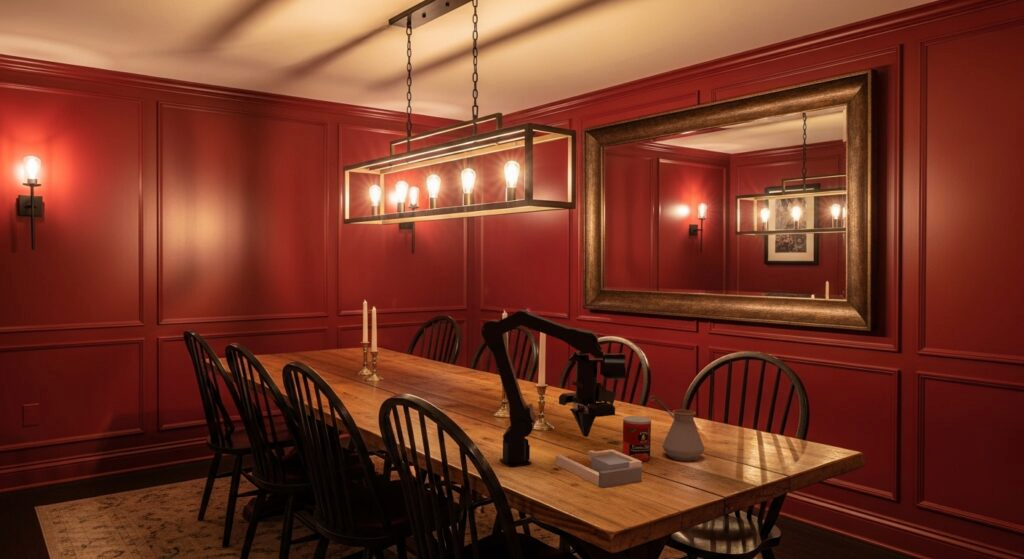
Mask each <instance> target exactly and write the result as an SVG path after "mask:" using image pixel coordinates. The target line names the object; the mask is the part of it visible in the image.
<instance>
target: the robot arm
mask: <svg viewBox="0 0 1024 559" xmlns="http://www.w3.org/2000/svg"><path fill="white" fill-rule="evenodd" d="M521 326H523V327H525V328H529V329H530V330H531V329H532V330H534V331H536V332H539V333H542V334H544V335H547V336H551V337H552V338H556V339H558V340H560V341H562V342H565V343H566V344H567V345H569V346H570V347H572V348H574V349H575V350H577V351H578V352H577V351H574V352H573V354H572V355H571V356H569V358H568V361H570V362H575V380H573V381H572V386H575V392H574V391H573V392H564V393H561V394H560V395H559V396H558V404H559V405H561V406H566V405H567V404H572V408H570V409H569V411H571V413H572V415H573V417H574V419H575V421H576V423H577V426H578V428H579V431H580V432H581V434H582V437H585V438H587V437H589V434H590V431H591V430H592V427H593V424H594V421H595V419H596V418H601V417H610V416H611V417H612V416H615V415H616V406H614V403H615V400H616V397H617V393H616V392H614V391H611V390H609V389H606V388H605V386H604V385H602V383H601V382H600V381H598V378H599V377H598V373H599V372H600V373H599V374H600V375H601V376H602V377H604V378H603V379H604V380H607V379H609V380H626V378H627V376H626V375H627V373H626V372H627V367H626V366H627V365H626V353H624V352H623V353H621V352H619V353H606V352H605V351H604V348H603V349H602V346H601V345H600V344H599V337H598V335H597V333H596V332H594V331H593V330H592V329H586V328H580V327H572V326H568V325H564V324H562V323H559V322H556V321H553V320H550V319H549V318H545V317H542V316H540V315H537V314H534V313H532V312H529V311H528V310H526V309H520V310H518V311H515V313H513V314H511V315H508V316H507V317H504V318H502V319H497V318H493V319H490V320H489V321H486V322H485V323H484V324H483V326H482V327H481V328H480V329H481V330H480V332H481V337H482V338H483V340H484V343H485V345H486V346H487V347H488V349H489V351H490V352H491V354H492V355H493V358H494V361H495V365H496V367H497V370H498V374H499V378H500V380H501V383H502V387H503V390H504V393H505V396H506V399H507V403H508V407H509V410H508V411H509V423H510V425H509V426H508V427H507V428H506V430H505V431H504V433H503V435H502V458H500V459H499V461H500V462H501V463H503V464H505V465H507V466H508V467H517V466H524V465H525V466H526V465H531V464H532V461H530V460H531V459H530V458H531V456H530V455H531V454H530V453H531V452H530V451H531V450H530V449H531V445H530V444H529V439H527V438H526V437H528V436H529V435H531V433H532V432H533V430H534V428H535V424H536V419H537V415H536V414H535V412H534V406H533V403H529V404H527V402H526V401H525V399H524V397H523V395H522V391H521V387H520V385H519V382H518V378H517V375H516V371H515V368H514V365H513V362H512V359H511V356H510V353H509V345H508V334H507V333H509V332H510V331H512V330H515V329H516V328H518V327H521ZM579 352H580V353H582V354H579ZM590 356H592V357H590ZM598 363H599V364H600V366H599V364H598ZM598 368H600V369H598ZM598 370H599V371H598Z"/></svg>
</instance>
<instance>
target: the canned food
mask: <svg viewBox="0 0 1024 559" xmlns="http://www.w3.org/2000/svg"><path fill="white" fill-rule="evenodd" d="M622 421H623V422H622V454H625V455H627V456H630V457H632V458H635V459H637V460H640V461H642V462H646V461H649V460H650V457H651V444H652V443H651V442H652V440H651V439H652V438H651V436H652V419H651V418H649V417H647V416H642V415H640V416H639V415H626V416H624V417H623V420H622Z"/></svg>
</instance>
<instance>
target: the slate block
mask: <svg viewBox="0 0 1024 559" xmlns="http://www.w3.org/2000/svg"><path fill="white" fill-rule="evenodd" d="M629 463H630V462H629V461H626V460H624V459H621V458H619V457H617V456H614V455H612V454H606V455H599V456H592V457H591V461H590V469H592V470H594V471H596V472H598V473H599V472H601V471H607V470H613V469H620V468H626V467H629Z"/></svg>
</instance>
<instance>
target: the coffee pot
mask: <svg viewBox="0 0 1024 559" xmlns="http://www.w3.org/2000/svg"><path fill="white" fill-rule="evenodd" d="M651 398H652V399H651ZM649 400H650V401H651V402H652V401H655V402H657V404H658V405H659V406H660V407H661V408H662V409H663V410H664V411H665V412H666V413H668V415H670V417H671V418H672V419H673V421H672V423H671V425H670V428H669V430H668V432H667V434H666V436H665V438H664V441H663V443H662V449H663V451H664V452H665V454H667V455H668V456H669V458H671V459H673V460H677V461H684V462H685V461H690V462H691V461H696V460H697V459H698V458H699V457H701V455H702V454H704V451H705V445H704V443H703V441H702V438H701V436H700V433H699V431H698V428H697V425H696V423H695V421H694V418H695V415H696V414H697V413H696V411H695V410H692V409H674V410H672V411H671V410H670V409H669V408H668V406H666V404H665V403H664V402H663V401H661V400H660V398H659V397H657V395H654V394H651V396H650V397H649Z"/></svg>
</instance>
